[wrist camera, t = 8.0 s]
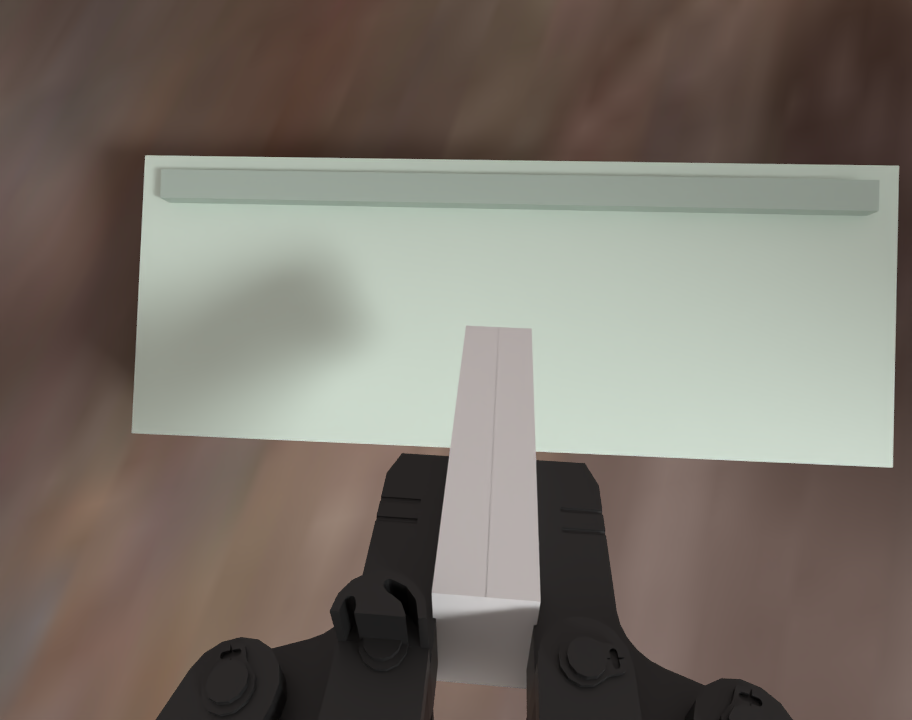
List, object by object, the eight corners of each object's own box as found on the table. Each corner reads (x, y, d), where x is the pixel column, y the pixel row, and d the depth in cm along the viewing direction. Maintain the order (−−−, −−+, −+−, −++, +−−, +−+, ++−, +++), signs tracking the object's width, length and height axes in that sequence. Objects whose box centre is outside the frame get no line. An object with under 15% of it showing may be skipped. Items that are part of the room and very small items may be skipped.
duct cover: (882, 174, 20) (912, 158, 18) (876, 463, 19) (906, 470, 18) (158, 163, 21) (134, 148, 20) (145, 430, 21) (120, 435, 20)
